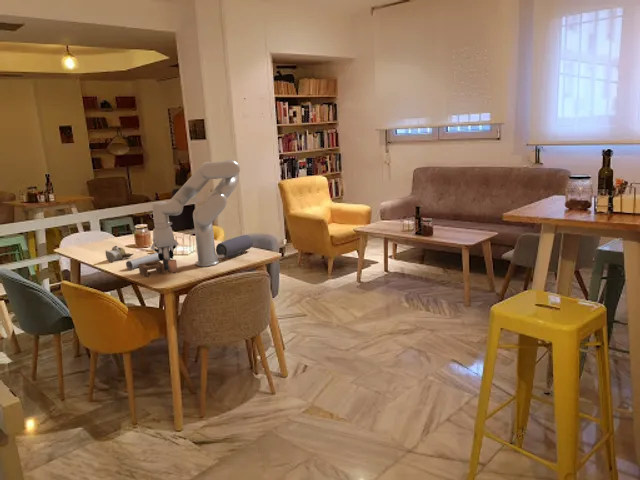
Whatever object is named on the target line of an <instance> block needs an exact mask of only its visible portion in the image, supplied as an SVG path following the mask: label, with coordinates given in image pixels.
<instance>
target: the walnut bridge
mask: <svg viewBox="0 0 640 480" xmlns="http://www.w3.org/2000/svg"><path fill="white" fill-rule="evenodd" d="M151 270H156V271H157V272H158V273H159V274H161V275H165V274H166V270H164V264H163V262H162V261H161V260H160V261H158V260H157V261H152V262H147V263H142V264H139V267H138V271H139V274H140V275H141V276H142V277H144V278H145V277H146V278H149V272H148V271H151Z"/></svg>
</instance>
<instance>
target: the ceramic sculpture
mask: <svg viewBox="0 0 640 480" xmlns="http://www.w3.org/2000/svg"><path fill="white" fill-rule="evenodd" d="M133 255H134V253H130V252H129V253H127V252H126V251H125V248H123V247H121V246H119V247H118V246H117V245H115V246H114V245H113V247H112V249H111V250H105V257H106V258H105V259H106V260H107V262H110V263H114V262H115V261H120V260H122V259H128V258H130V257H132V256H133Z"/></svg>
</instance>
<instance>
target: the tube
mask: <svg viewBox="0 0 640 480" xmlns="http://www.w3.org/2000/svg"><path fill="white" fill-rule="evenodd" d="M161 253H162V252H161ZM157 260H158V261H160V262H161V260H160V259H159V258H158V253H157V252H154V253H152V254H148V255H144V256H141V257H137V258H134V259H130V260H127V261H126V262H125V266H126V268H127V270H129V271H132V270H135V269H139V264H142V263H147V262H152V261H157Z"/></svg>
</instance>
